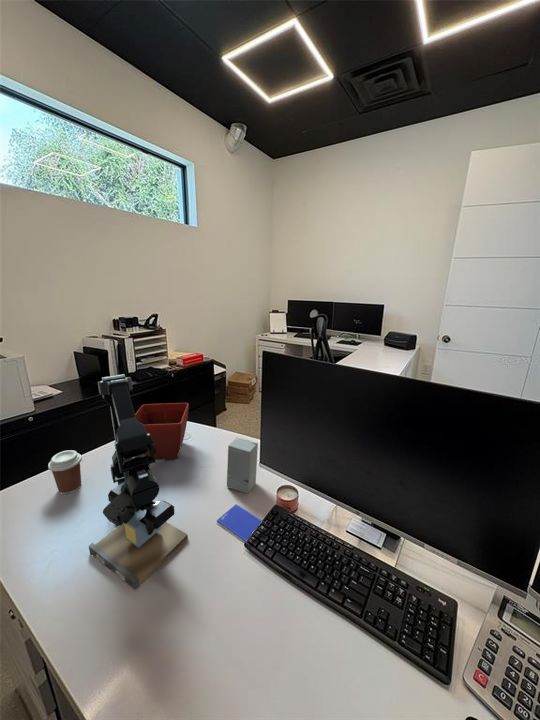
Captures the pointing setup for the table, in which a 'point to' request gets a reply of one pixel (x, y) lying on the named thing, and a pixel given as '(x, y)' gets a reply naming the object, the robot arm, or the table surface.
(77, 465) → the coffee cup
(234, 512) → the hard drive
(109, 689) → the table surface
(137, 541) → the box
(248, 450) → the skincare box
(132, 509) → the robot arm
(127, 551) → the shelf board
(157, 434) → the plant pot
